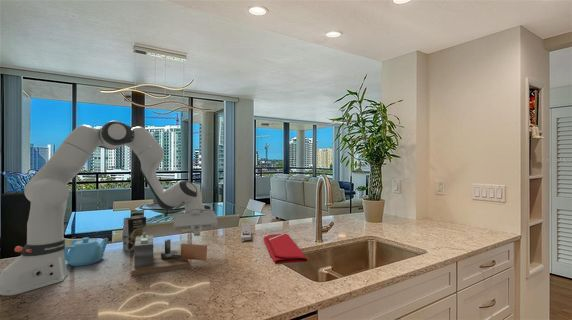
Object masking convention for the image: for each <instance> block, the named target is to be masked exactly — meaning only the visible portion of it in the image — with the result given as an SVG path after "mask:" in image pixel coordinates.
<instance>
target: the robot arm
mask: <svg viewBox="0 0 572 320" xmlns="http://www.w3.org/2000/svg"><path fill="white" fill-rule="evenodd" d="M123 146H124V147H128V148H129V149H131V150H132V151H133V153H134V154H135V155H136V157H138V159H139V162H140V168H139V169H140V173H141V175H142V176H143V178H144V181H146V183H147V185H148V187H149V189H150V191H151V192H152V194H153V196H154V197H155V201H156V202H157V205H158V207H159V208H161V209H163V210H165V211H171V210H173V209H174V208H176V207H177V206H178V205H179V204H182V203H184V204H185V205H184V210H185V211H175V212H174V213H173V214H172V220H173V229H174V231H185V230H190V232H191V233H192V234H193V237H198V236H199V237H200V236H201V232H202V230H203V229H206V228H216V227H217V225H218V218H217V215H216V212H215V211H214V208H213V206H212V205H207V204H204V203H203V202H202V201H203V197H202V196H203V195H202V191H201V188H200V186H199V185H198V184H197V183H196V182H195V183H194V182H191V181H188V180H186V179H180V180H179V181H177V182H175V183H174V184H173V185H171V186H169V187H168V188H166V189H165V188H164V187H163V185H162V183H161V182H160V179H158V176H157V169H158V168H159V166H160V165H161V164H162V162H163V160H164V156H165V151H164V149H163V147H162V146H161V144H160V143H159V142H158V141H157V140H156V138H155V137H154V136H153V135H152V134H151V133H150V132H149V131H148V130H147V129H146V128H144V127H143V126H135V127H132V126H130V125H127V124H125V123H124V122H122V121H119V120H111V121H108V122H105V124H104V125H102V127H100V128H94V126H91V125H87V124H81V125H78V126H77V127H75V128H74V129H73V130H72V131H71V132H70V133H69V134H68V135H67V137H65V139H64V140H63V141H62V142H61V143H60V145H59V146H58V148H57V149H56V150H55V151H54V153H53V154H52V156H51V157H50V158H49V159H48V160H47V162H45V163H44V165H42V166H41V168H40V169H39V170H38V171H37V172H36V173H35V174H34V175H33V176H32V178H30V180H28V182H27V183H26V185H25V186H24V190H23V193H24V196H25V198H26V199H27V200H28V201H29V202H30V209H29V214H28V220H27V223H26V227H27V228H26V229H27V230H26V243H25V245H24V246H21V245H17V246H15V248H14V252H15V253H20V255H19V256H18V257H16V259H14V260H13V262H11V263H10V264H9V265H7V266H6V267H5V268H4V269H2V270H1V272H0V296H16V295H19V294H23V293H26V292H30V291H33V290H37V289H40V288H44V287H46V286H50V285H53V284H54V285H55V284H57V283H61V282H63V281H64V280H65V278H66V277H67V276H69V271H68V268H67V263H66V260H65V258H64V250H65V246H66V240H65V238H64V234H65V233H64V232H65V230H64V228H65V227H64V224H65V216H66V215H65V214H66V210H67V206H68V205H67V204H68V199H69V196H70V189H69V186H68V184H69V183H70V182H71V181H72V179H74V178H75V176H77V175H78V174H79V173H80V172H81V171H82V169H83V168H84V167H85V165H86V163H87V162H88V161H89V159H90V158H91V156H92V155H93V153H94V152H95V151H96V149H97V148H100V149H105V150H109V151H113V150H117V149H119V148H121V147H123ZM195 229H198V230H195Z"/></svg>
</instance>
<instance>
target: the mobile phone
mask: <svg viewBox="0 0 572 320" xmlns="http://www.w3.org/2000/svg"><path fill="white" fill-rule="evenodd" d="M240 226H241V231H240V232H241V233H240V238H241V242H242V243H244V242H246V241H251V240H252V234H251V223H249V222H247V223H245V222H244V223H241V224H240Z"/></svg>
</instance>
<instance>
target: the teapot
mask: <svg viewBox="0 0 572 320" xmlns="http://www.w3.org/2000/svg"><path fill="white" fill-rule="evenodd" d="M108 241H109V238H107V237H105V238H103V239H102V241H101V242H99V241H97V239H90V237H88V236H87V237H82V238H81V240H76V239H73V240H70V242H71V243H70V244H71V245H65V250H64V258H65V262H66V264H69V265H70V266H73V267H81V266H83V267H84V266H90V265H93V264H96V263H99V262H100V261H101V260H102V259H103V258H104V255H105V254H104V253H105V250H106V247H107V245H108V244H107V243H108Z"/></svg>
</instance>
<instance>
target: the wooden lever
mask: <svg viewBox="0 0 572 320" xmlns="http://www.w3.org/2000/svg"><path fill="white" fill-rule="evenodd" d="M176 250H177V249H171V239H164V251H160V252H161V258H163V259H170V258H179V259H188V260H193V261H205V262H206V261H207V260H208V245H206V244H194V243H193V244H192V243H180V250H181V254H178V253H177V251H176Z"/></svg>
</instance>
